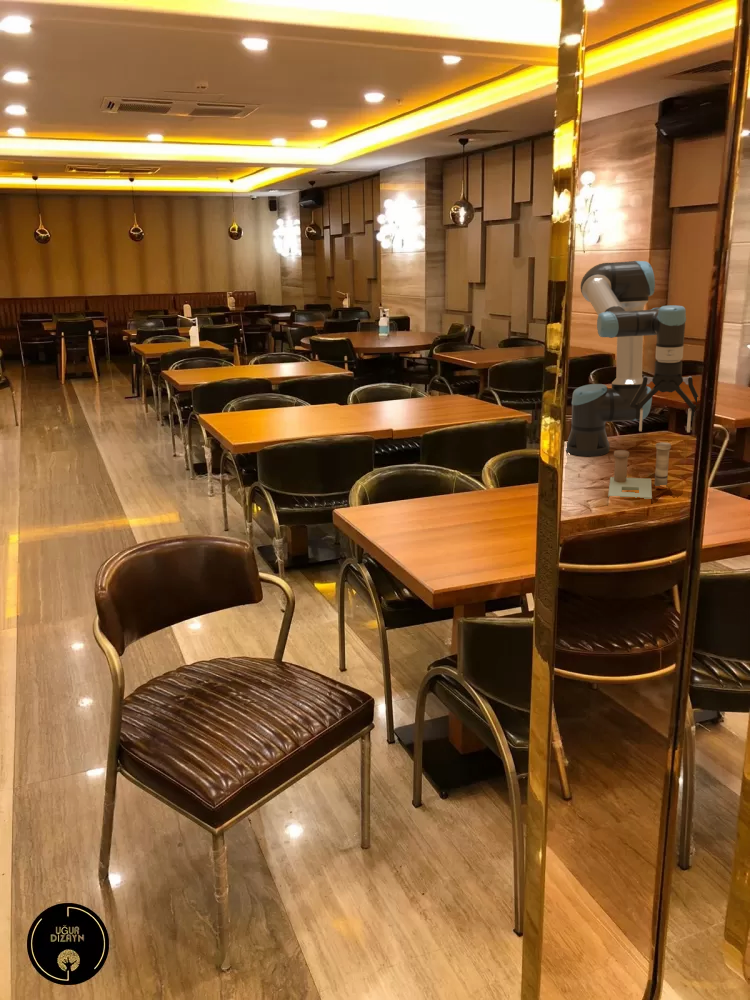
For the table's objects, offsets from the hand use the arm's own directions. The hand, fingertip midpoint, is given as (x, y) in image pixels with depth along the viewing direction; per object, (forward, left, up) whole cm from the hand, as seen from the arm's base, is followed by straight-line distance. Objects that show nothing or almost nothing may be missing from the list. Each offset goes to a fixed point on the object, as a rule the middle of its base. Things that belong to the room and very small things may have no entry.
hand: (664, 430), depth 245 cm
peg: (0, 0, -18) cm, 18 cm away
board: (+12, -9, -18) cm, 24 cm away
